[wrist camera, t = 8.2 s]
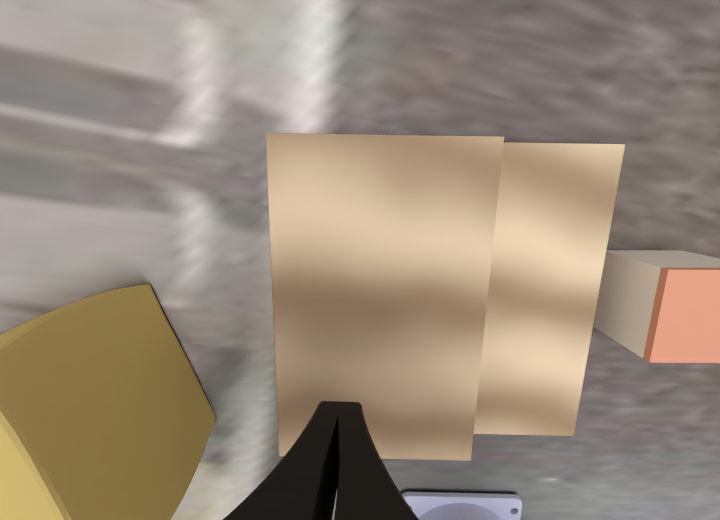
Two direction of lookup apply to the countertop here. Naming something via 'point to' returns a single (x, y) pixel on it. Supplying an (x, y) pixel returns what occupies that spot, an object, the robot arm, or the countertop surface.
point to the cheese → (98, 413)
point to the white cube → (661, 304)
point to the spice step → (435, 283)
